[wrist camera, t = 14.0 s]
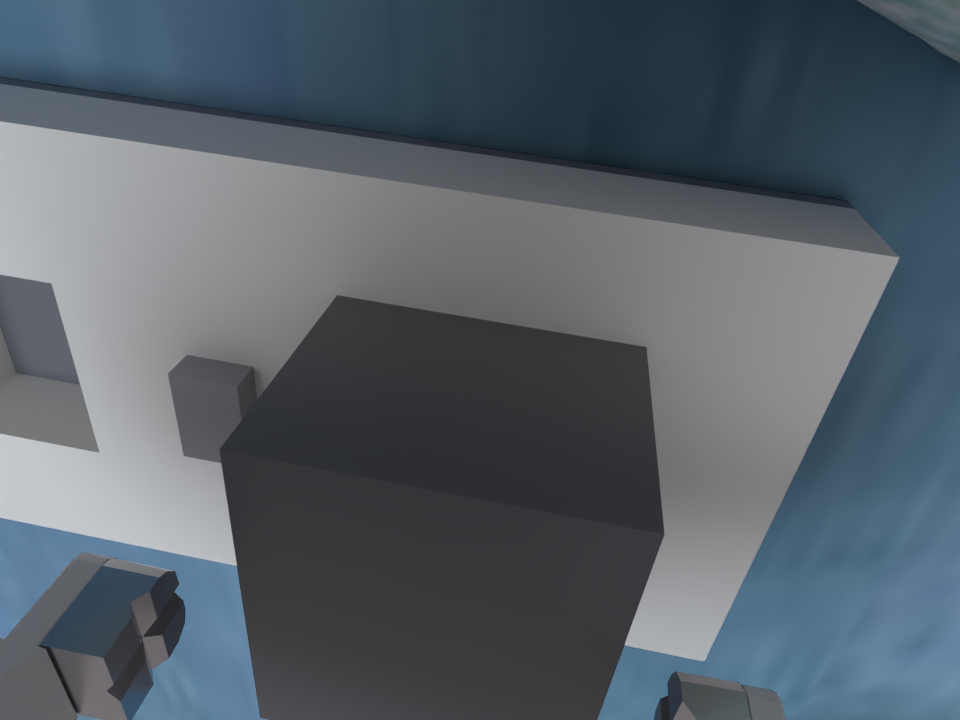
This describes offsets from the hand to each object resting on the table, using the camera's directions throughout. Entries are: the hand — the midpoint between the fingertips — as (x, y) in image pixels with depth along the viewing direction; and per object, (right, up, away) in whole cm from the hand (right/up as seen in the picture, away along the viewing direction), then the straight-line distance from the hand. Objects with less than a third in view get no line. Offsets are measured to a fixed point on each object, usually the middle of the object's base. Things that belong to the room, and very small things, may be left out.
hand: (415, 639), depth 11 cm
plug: (+1, +2, +7) cm, 8 cm away
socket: (-5, +5, +8) cm, 10 cm away
